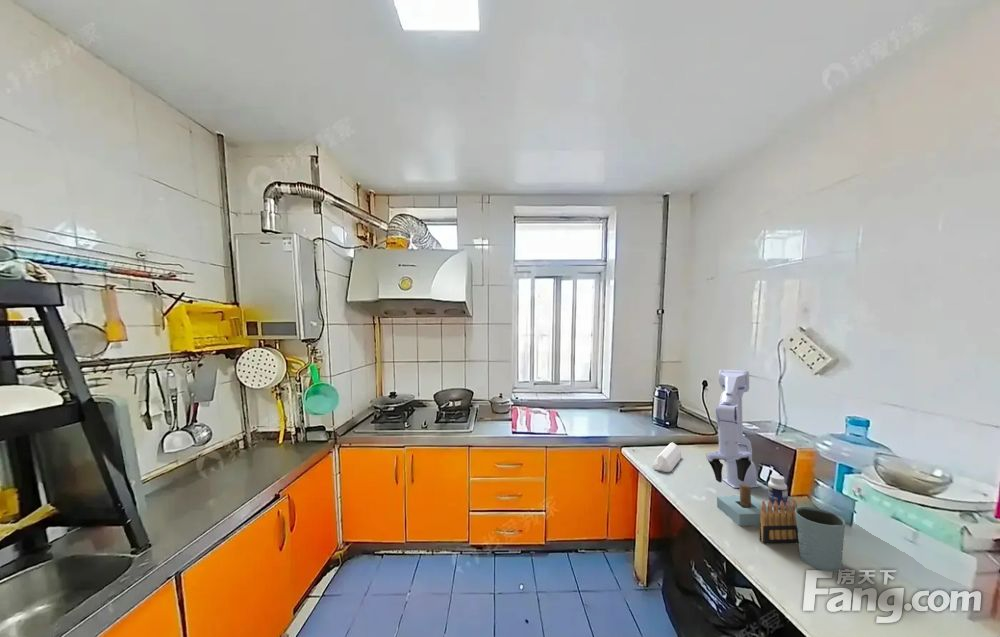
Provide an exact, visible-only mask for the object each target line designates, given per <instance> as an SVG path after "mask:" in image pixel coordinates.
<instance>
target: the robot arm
mask: <svg viewBox="0 0 1000 637" xmlns="http://www.w3.org/2000/svg"><path fill="white" fill-rule="evenodd" d="M718 382H719V385H720V388H721V389H722V391H723V392H721V394H720V395H719V397H720V398H719V402H718V403H719V404H718V405H716V407H715V418H716V426H717V428H718V429H717V431H718V451H714V452H708V453H706V454H705V455H706V456H705V458H706V460H707V462H708V463H709V464H710V466H711V468H712V472H713V474H714V478H715V480H716V481H717V482H718V483H722V481H723V482H724V483H726V484H727V485H729V486H730V487H732V488H733V489H740V484H745V485H749V486H750V489H751V488H759V485H758V481H757V480H758V479H757V477H758V476H757V467H756V464H755V463H754V462H753V448H752V442H751V440H749V438H747V437H746V436H744V434H743V432H744V430H743V395H744V394H745V393H747V392H749V390H750V372H749V370H747V369H744V370H742V369H741V370H740V369H723V368H720V369H719V371H718ZM724 460H725V466H726V478H723V477H722V476H723V475H722V474H723V467H724V464H723V463H721V461H724Z"/></svg>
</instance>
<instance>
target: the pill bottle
mask: <svg viewBox="0 0 1000 637" xmlns="http://www.w3.org/2000/svg"><path fill="white" fill-rule="evenodd" d="M767 494H768V501H769V500H770V501H771V504H772V507H773V506H774V501H775V500H776V501H777V504H778V509H780V502H781V500H782V501H783V503H784V507H785V509H786V503H787V500H789V496H788V485H787V484H786V483H785V477H784V476H782V475H780V474H777V473H776V474H774V473H773V474H770V476H769V480H768V482H767ZM768 501H767V502H768Z"/></svg>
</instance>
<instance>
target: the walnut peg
mask: <svg viewBox="0 0 1000 637" xmlns="http://www.w3.org/2000/svg"><path fill="white" fill-rule="evenodd" d="M751 491H752V490H751V488H750V486H749V485H745V484H740V488H739V496H740V506H741V507H743V508H751V495H752V493H751Z"/></svg>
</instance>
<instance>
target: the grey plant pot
mask: <svg viewBox="0 0 1000 637" xmlns="http://www.w3.org/2000/svg"><path fill="white" fill-rule="evenodd" d="M795 516H796V523H797V528H798V540H799V544H798V550H799V551H798V552H799V557H800V559H801V560H802V561H803V563H805V564H807V565H808V566H810V567H813V568H815V569H817V570H821V571H825V572H834V573H835V572H840V571H841V570H842V567H843V559H844V558H843V557H844V555H843V551H844V542H845V541H844V539H845V529H846V521H845V520H844V518H843V517H842V516H839V515H838V514H836V513H834V512H832V511H829V510H826V509H821V508H818V507H811V506H800V507H799V506H797V508H796V509H795ZM839 570H840V571H839Z"/></svg>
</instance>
